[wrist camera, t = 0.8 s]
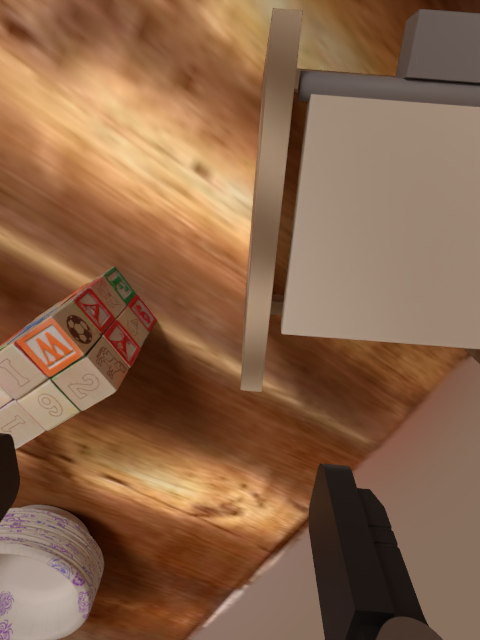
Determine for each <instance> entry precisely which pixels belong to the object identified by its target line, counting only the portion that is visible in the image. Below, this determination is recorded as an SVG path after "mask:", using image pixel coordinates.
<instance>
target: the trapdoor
mask: <svg viewBox="0 0 480 640" xmlns="http://www.w3.org/2000/svg"><path fill="white" fill-rule="evenodd" d="M297 101H298V102H307V110H306V118H305V127H304V135H303V143H302V152H301V160H300V168H299V176H298V185H297V193H296V201H295V210H294V218H293V226H292V234H291V243H290V251H289V259H288V268H287V276H286V284H285V292H284V301H283V309H282V317H281V326H280V328H281V334H288V335H301V336H314V337H327V338H340V339H353V340H366V341H379V342H392V343H405V344H418V345H431V346H444V347H458V348H471V349H480V14H479V13H466V12H454V11H441V10H428V9H419V10H418V11H417V12H416V13H415V14H413V15H412V16H411V17H410V18H409V19H407V20H406V25H405V30H404V35H403V40H402V45H401V51H400V56H399V61H398V66H397V72H396V77H395V78H391V77H378V76H365V75H352V74H339V73H326V72H313V71H301V73H300V78H299V84H298V93H297Z"/></svg>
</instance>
